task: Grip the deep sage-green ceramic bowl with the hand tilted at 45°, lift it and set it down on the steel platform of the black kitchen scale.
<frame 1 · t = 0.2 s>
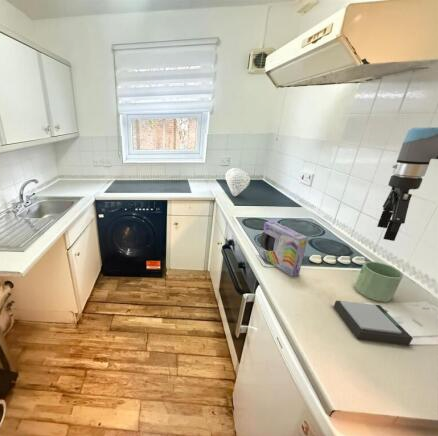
hand: (385, 233, 88), 21 cm above the worktop, tool pointing down, fingers open, 13 cm apart
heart: (234, 196, 198), on the worktop
scale: (367, 324, 74), on the worktop
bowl: (371, 293, 88), on the worktop
cake pan box: (276, 264, 105), on the worktop
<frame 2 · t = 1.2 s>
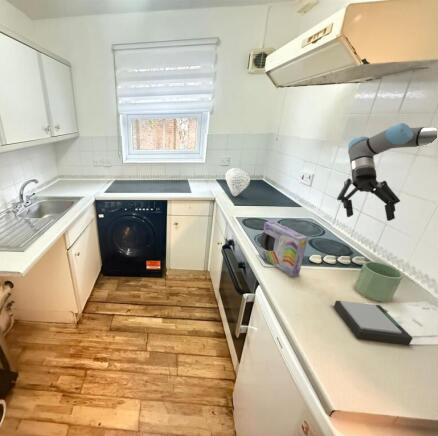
hand: (370, 217, 92), 24 cm above the worktop, tool tilted 45°, fingers open, 13 cm apart
nothing on the worktop moved.
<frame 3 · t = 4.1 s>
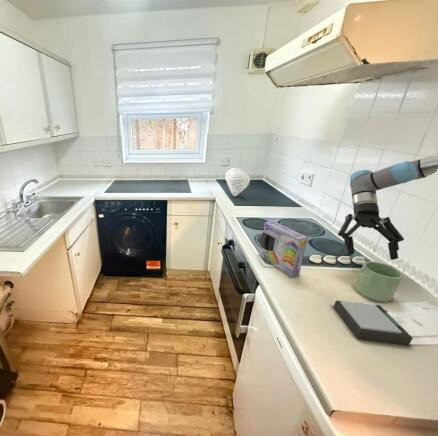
hand: (372, 256, 89), 12 cm above the worktop, tool tilted 45°, fingers open, 13 cm apart
nothing on the worktop moved.
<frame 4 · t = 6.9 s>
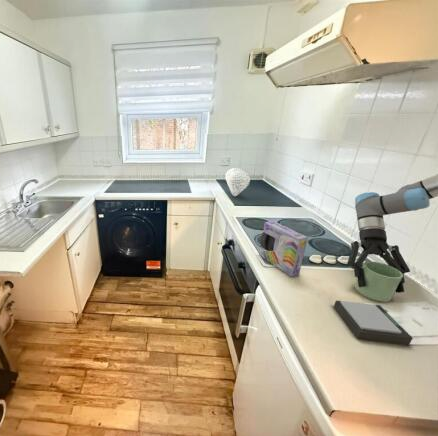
hand: (380, 289, 84), 4 cm above the worktop, tool tilted 45°, fingers closed on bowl, 10 cm apart
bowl: (371, 293, 88), on the worktop, touching gripper
everything else where it was.
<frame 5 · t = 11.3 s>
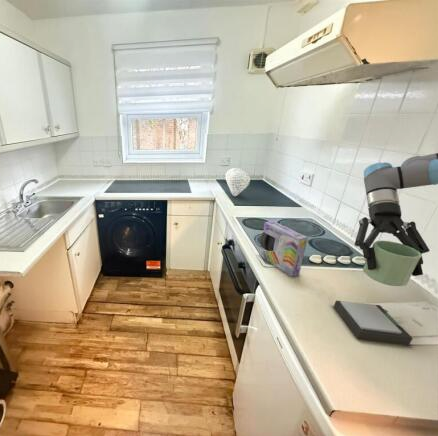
hand: (394, 272, 71), 17 cm above the worktop, tool tilted 45°, fingers closed on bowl, 10 cm apart
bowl: (383, 277, 75), point 13 cm above the worktop, touching gripper
everything else where it was.
when the fingers open (8 cm above the worktop, at t = 15.7 s): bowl stays where it is, resting on scale.
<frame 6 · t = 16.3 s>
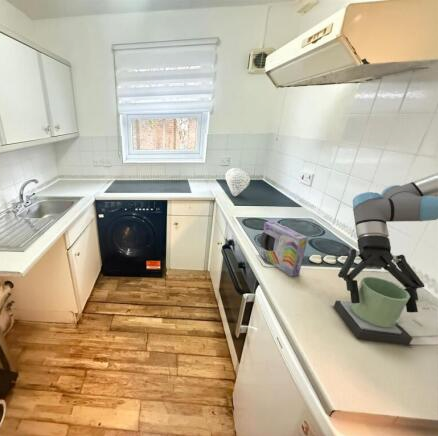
hand: (383, 307, 69), 9 cm above the worktop, tool tilted 45°, fingers open, 13 cm apart
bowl: (371, 315, 73), point 4 cm above the worktop, touching scale
everything else where it was.
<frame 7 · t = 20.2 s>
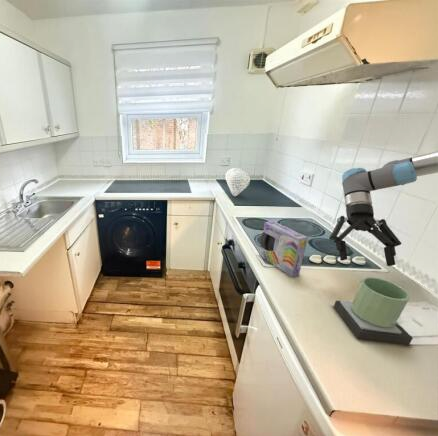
hand: (367, 262, 81), 14 cm above the worktop, tool tilted 45°, fingers open, 13 cm apart
nothing on the worktop moved.
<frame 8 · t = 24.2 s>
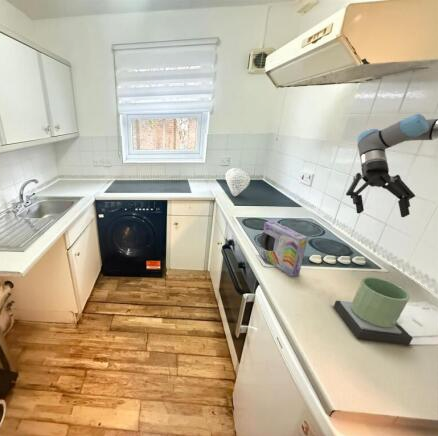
hand: (382, 213, 86), 28 cm above the worktop, tool tilted 45°, fingers open, 13 cm apart
nothing on the worktop moved.
at the end: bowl inside the target area on the scale (0.0 cm from its centre), point 3.8 cm above the scale's base; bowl tilted 0°; the gripper is holding nothing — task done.
